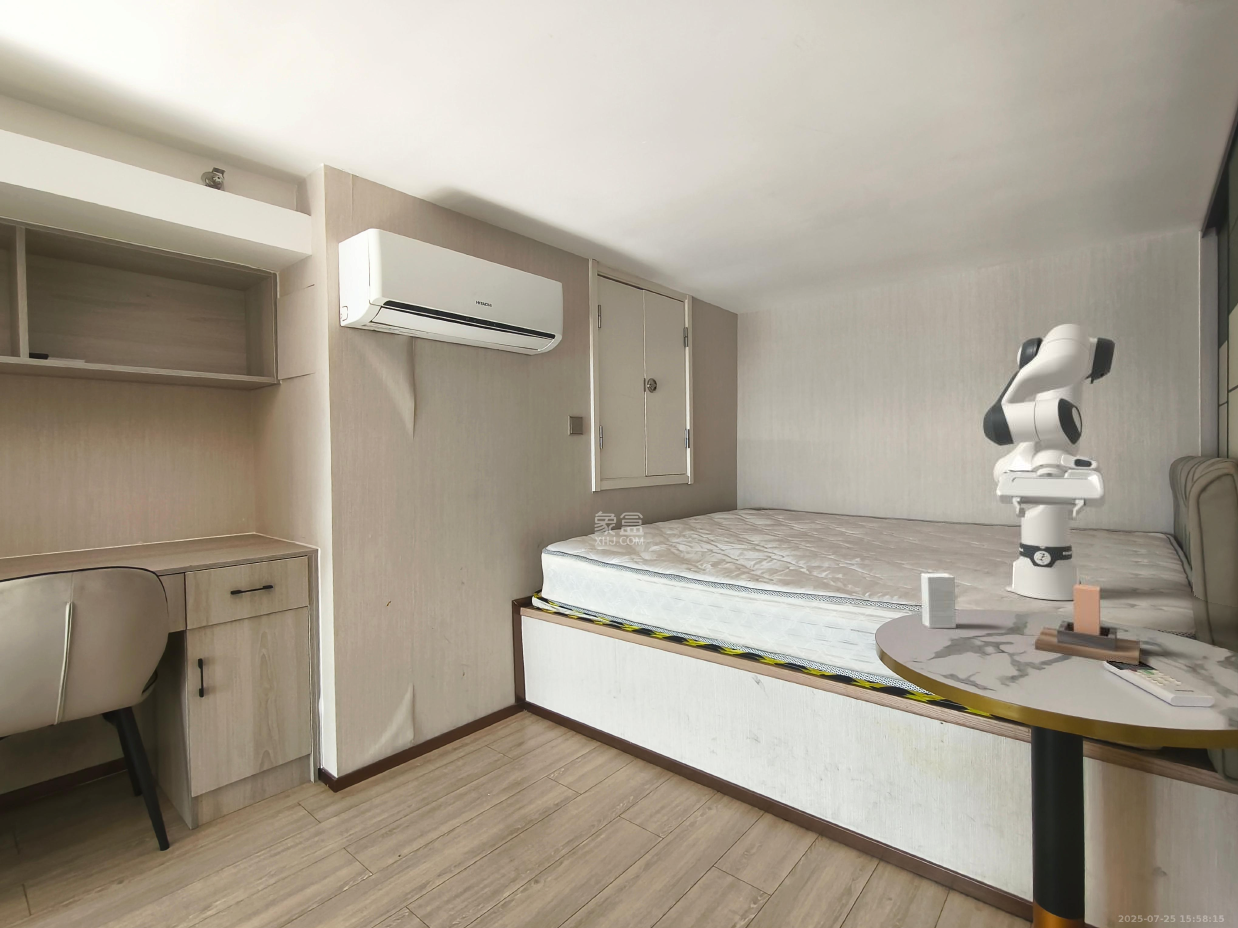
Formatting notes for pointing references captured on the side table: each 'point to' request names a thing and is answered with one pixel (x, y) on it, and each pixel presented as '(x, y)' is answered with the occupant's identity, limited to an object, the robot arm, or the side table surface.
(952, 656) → the side table surface
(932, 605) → the skincare box
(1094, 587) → the peg
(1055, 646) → the socket board
